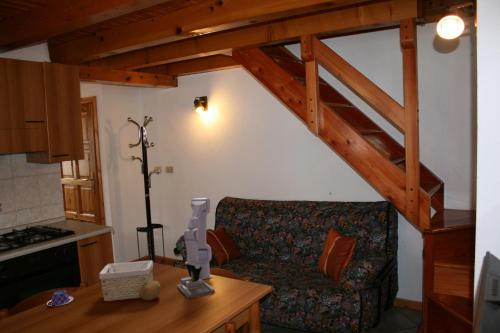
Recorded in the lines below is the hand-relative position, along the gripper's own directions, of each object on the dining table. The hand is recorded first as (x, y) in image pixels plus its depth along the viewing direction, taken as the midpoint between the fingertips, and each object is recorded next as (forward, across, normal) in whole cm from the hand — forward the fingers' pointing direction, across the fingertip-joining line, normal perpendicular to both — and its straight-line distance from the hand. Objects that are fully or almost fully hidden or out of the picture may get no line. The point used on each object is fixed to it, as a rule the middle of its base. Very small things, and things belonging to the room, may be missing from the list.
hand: (194, 278), depth 204 cm
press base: (+6, +1, 0) cm, 6 cm away
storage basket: (+6, -13, -30) cm, 34 cm away
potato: (+6, -1, -22) cm, 23 cm away
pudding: (+6, -23, -62) cm, 66 cm away
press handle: (+4, 0, 0) cm, 4 cm away
